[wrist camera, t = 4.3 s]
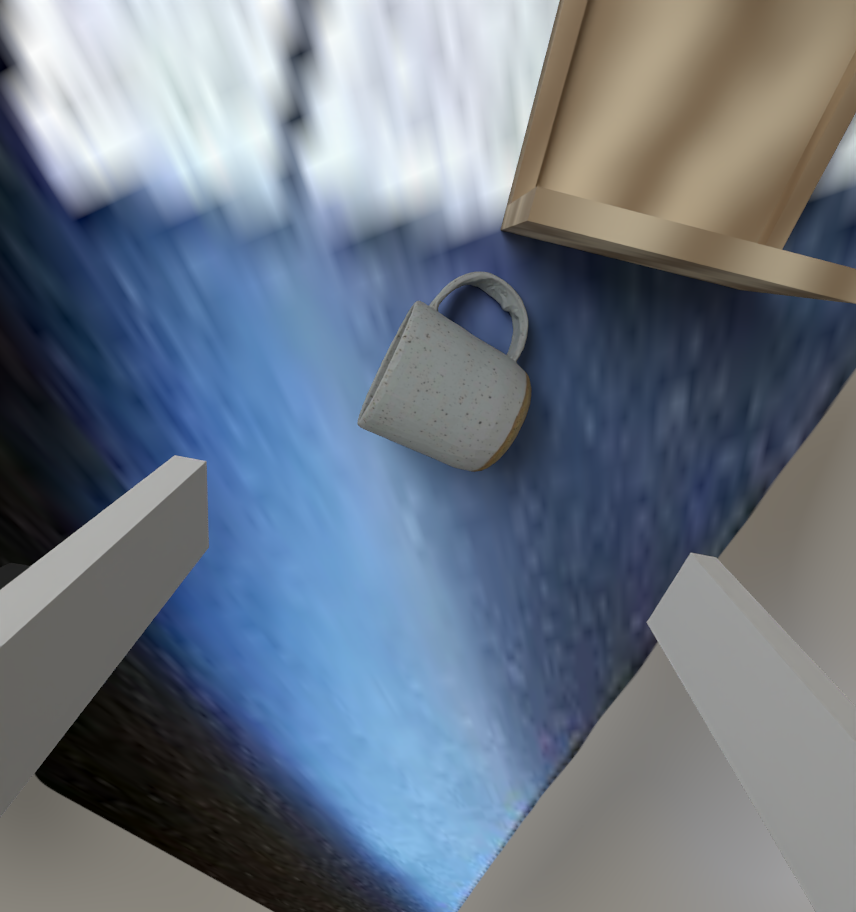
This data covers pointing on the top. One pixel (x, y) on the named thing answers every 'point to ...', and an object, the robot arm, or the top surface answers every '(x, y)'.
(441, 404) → the ceramic mug
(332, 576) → the top surface
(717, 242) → the holder
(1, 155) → the top surface
